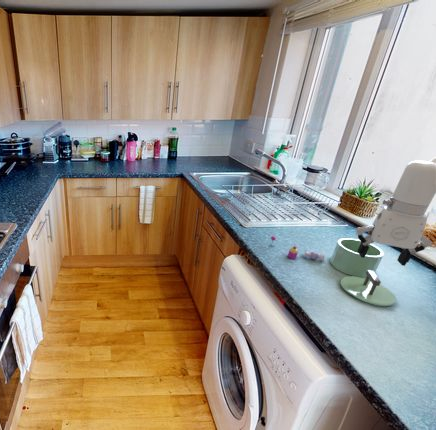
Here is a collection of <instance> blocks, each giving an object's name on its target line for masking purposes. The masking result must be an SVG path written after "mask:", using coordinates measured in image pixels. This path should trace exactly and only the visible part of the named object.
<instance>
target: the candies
mask: <svg viewBox="0 0 436 430" xmlns="http://www.w3.org/2000/svg"><path fill="white" fill-rule="evenodd" d="M276 239H277V237H276V236H275V235H272V236H271V237H270V240H271V243H270V246H271V247H272V246H273V242H274V241H276ZM297 248H298V247H297V246H296V243H294V245H293V246H292V247H291V248H290V249H289V250H288V253H287V257H288V258H289V259H291V260H294V259H297V257H298V253H299V250H298V249H297ZM303 257H304V258H308V257H309V258H310V259H311V260H317V259H318V260H320V261H322V262H324V260H325V254H324V253H322V254H319V253H318V252H317V251H311V252H310V251H308V250H307V249H306V250H304V255H303Z"/></svg>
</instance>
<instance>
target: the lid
mask: <svg viewBox="0 0 436 430" xmlns="http://www.w3.org/2000/svg"><path fill="white" fill-rule="evenodd" d="M366 275H367V277H366V278H361V277H355V276H351V275H348V276H343V277H342V278H341V280H340V286H341V287H342V289H343V290H344V292H346V293H348V294H349V295H351V296H352V297H354V298H356V299H358V300H360V301H362V302H365V303H368V304H371V305H375V306H379V307H390V306H393V305H394V304H395V303H396V302H397V298H396V296H395V294H394V293H393V292H392V291H391V290H389V288H387V287H385V286H384V285H382V284H381V283H382V281H381V280H380V279H379V277H378V275H377V274H376V272H375V273H374V271H370V270H367V272H366Z"/></svg>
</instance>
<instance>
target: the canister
mask: <svg viewBox="0 0 436 430" xmlns="http://www.w3.org/2000/svg"><path fill="white" fill-rule="evenodd" d="M360 244H361V241H360V240H359V239H357V238H346V237H345V238H344V237H343V238H340V239H338V240H337V242H336V245H335V247H334V250H333V252H332V255H331V257H330V260H329V262H330V264H331V266H332V267H333V268H335V269H336V270H337V271H339V272H341V273H344V274H345V275H348V276H354V277H361V278H365V279H366V277H367V275H366V272H367V270H370V271H374V273H375V274H376V271H377V270H378V267H379V266H380V263H381V261H382V259H383V257H384V254H385V252H384V251H383V250H382V248H380V247H378V246H376V245H375V244H373V243H371V244H369V245H368V246H369V249H368V251H367V253H366V256H365V257H364V258H362V257H361V256H360V255H359V253H358V248H359V246H360Z"/></svg>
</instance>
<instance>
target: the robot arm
mask: <svg viewBox="0 0 436 430" xmlns="http://www.w3.org/2000/svg"><path fill="white" fill-rule="evenodd" d="M435 195H436V156H435V157H433V158H432V159H430V160H429V161H426V160H413V161H410V162H409V163H408V164H407V165H406V166H405V168H404V170H403V172H402V175H401V176H400V179H399V181H398V183H397V185H396V187H395V189H394V191H393V194H392V196H391V197H389V198H388V199H383V201H382V205H385V206H384V207H382V209H381V210H380V211H379V212H378V214H377V215H376V217H375V218H374V220H373V221H372V223H371V225H370V224H369V225H363V226H359V227H356V228H355V234H356V237H357V238H358V240H360V241H361V244H360V246H359V248H358V253H359V255H360V256H361V257H362V258H364V257H365V256H366V253H367V251H368V249H369V246H368V245H369V244H374V243H376V244H379V245H384V246H390V247H395V248H401V249H402V250H401V252H400V254H399V255H398V257H397V262H398V263H399V264H400V265H401V266H406V265H407V264H408V263H409V262H410V260H411V259H412V257H413V255H416V254H417V253H419V252H421V251H424V250H425V248H428V247H430V246H431V245H433V241H432V240H430V239H429V238H427V237H425V236H424V232H425V229H426V225H427V220H428V215H426V212H427V210H428V209H429V206H430V205H431V203H432V201H433V199H434V197H435ZM364 233H367V235H366V236H364ZM420 241H421V242H420Z"/></svg>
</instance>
